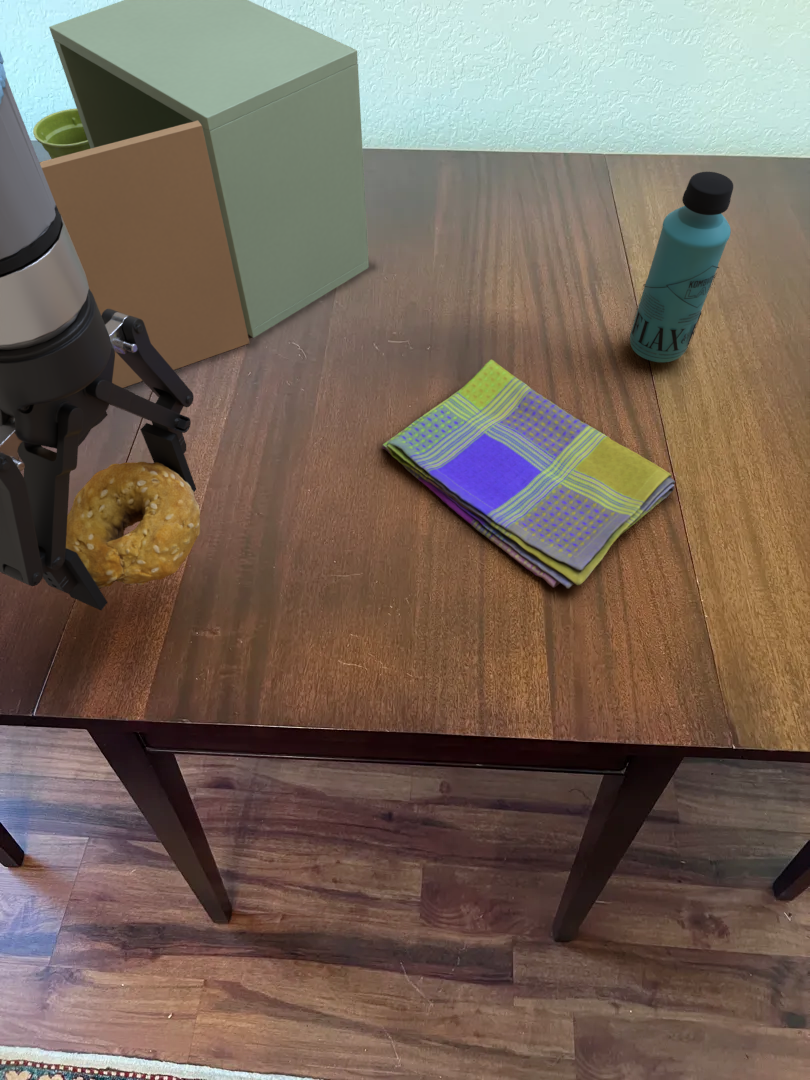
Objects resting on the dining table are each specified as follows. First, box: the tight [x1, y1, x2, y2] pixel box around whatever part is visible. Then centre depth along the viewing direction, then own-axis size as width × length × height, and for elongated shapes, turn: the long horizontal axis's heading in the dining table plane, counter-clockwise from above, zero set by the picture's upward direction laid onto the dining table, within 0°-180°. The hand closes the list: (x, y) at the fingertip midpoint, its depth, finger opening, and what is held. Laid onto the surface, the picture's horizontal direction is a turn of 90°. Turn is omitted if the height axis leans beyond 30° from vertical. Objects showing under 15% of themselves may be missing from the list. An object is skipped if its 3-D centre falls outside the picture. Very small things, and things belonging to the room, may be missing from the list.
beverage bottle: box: [628, 171, 734, 363], centre depth 78 cm, size 6×7×20 cm
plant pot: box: [32, 107, 91, 159], centre depth 102 cm, size 9×9×9 cm
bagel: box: [66, 461, 201, 590], centre depth 58 cm, size 10×11×5 cm
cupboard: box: [48, 0, 370, 339], centre depth 87 cm, size 18×26×24 cm
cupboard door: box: [39, 121, 250, 389], centre depth 72 cm, size 8×26×24 cm, turn 119°
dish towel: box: [381, 359, 676, 589], centre depth 75 cm, size 18×24×3 cm
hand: (136, 540), depth 60 cm, fingers closed on bagel, 11 cm apart
